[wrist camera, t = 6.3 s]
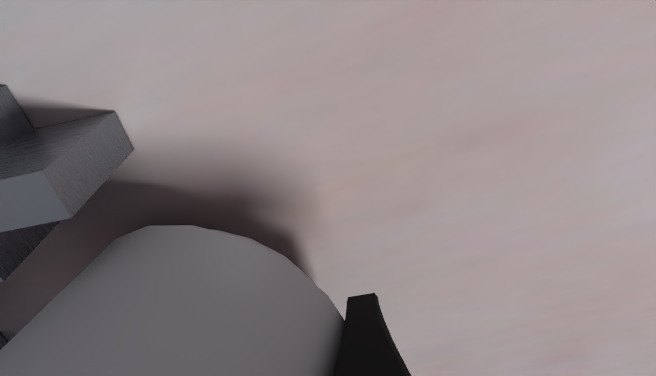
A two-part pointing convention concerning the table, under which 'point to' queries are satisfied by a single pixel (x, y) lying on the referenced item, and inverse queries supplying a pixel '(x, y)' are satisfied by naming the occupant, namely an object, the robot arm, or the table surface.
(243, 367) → the can
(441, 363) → the table surface
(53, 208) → the ring collar
